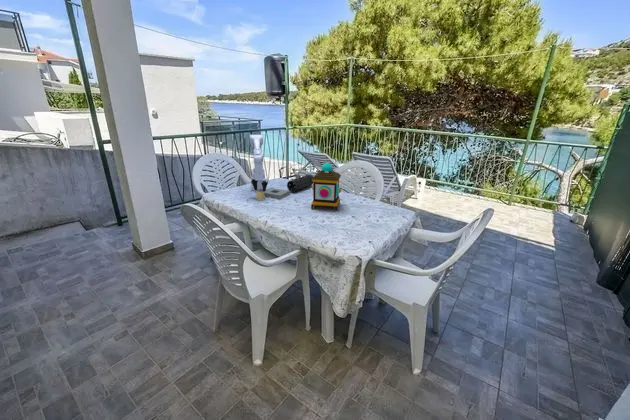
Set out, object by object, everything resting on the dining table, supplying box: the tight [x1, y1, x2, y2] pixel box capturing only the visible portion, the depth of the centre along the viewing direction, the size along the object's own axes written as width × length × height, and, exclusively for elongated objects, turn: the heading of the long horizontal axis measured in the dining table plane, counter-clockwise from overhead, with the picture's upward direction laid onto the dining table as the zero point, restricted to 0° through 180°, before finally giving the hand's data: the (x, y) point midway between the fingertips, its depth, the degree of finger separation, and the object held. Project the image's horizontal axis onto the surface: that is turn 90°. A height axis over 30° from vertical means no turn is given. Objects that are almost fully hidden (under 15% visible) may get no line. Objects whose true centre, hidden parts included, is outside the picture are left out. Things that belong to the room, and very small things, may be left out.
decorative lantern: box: [310, 162, 342, 212], centre depth 185 cm, size 20×20×30 cm
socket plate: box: [264, 187, 291, 200], centre depth 212 cm, size 18×14×3 cm
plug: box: [255, 189, 265, 201], centre depth 202 cm, size 4×4×7 cm
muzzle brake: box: [286, 173, 315, 194], centre depth 228 cm, size 10×28×10 cm, turn 147°
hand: (260, 190), depth 201 cm, fingers open, 7 cm apart
